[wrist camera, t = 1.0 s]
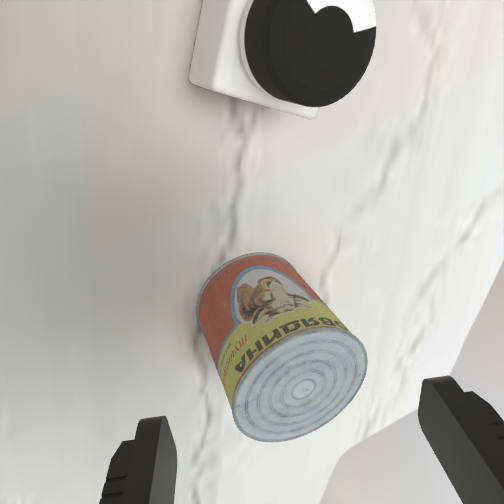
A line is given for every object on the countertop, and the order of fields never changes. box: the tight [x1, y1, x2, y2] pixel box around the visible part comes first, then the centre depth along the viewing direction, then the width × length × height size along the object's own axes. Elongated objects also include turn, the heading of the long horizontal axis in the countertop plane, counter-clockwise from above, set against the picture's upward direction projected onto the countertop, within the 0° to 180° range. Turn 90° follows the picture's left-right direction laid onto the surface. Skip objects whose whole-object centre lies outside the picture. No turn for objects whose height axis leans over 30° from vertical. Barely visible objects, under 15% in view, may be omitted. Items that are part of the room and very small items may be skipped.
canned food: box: [197, 253, 367, 442], centre depth 33 cm, size 11×11×12 cm
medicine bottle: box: [189, 0, 376, 119], centre depth 22 cm, size 7×7×12 cm
